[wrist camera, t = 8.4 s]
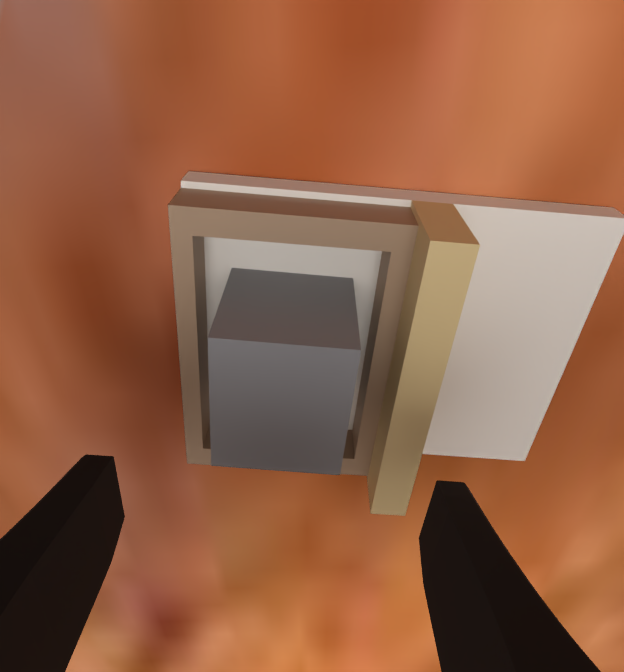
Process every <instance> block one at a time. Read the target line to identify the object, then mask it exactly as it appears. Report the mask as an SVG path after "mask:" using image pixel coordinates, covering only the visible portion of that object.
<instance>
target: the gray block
mask: <svg viewBox="0 0 624 672" xmlns="http://www.w3.org/2000/svg"><path fill="white" fill-rule="evenodd" d="M360 355H361V343H360V335H359V326H358V317H357V308H356V300H355V291H354V282H353V278H346V277H334V276H323V275H311V274H300V273H288V272H277V271H265V270H254V269H242V268H231V271H230V274H229V277H228V280H227V283H226V286H225V289H224V292H223V295H222V297H221V300H220V303H219V306H218V309H217V312H216V315H215V318H214V321H213V324H212V326H211V329H210V332H209V335H208V369H209V405H210V442H211V466H223V467H236V468H250V469H263V470H277V471H290V472H304V473H318V474H331V475H340V472H341V466H342V460H343V455H344V449H345V443H346V437H347V431H348V425H349V419H350V413H351V408H352V402H353V396H354V390H355V384H356V378H357V372H358V367H359V361H360Z"/></svg>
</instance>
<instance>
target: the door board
mask: <svg viewBox="0 0 624 672" xmlns="http://www.w3.org/2000/svg"><path fill="white" fill-rule="evenodd" d="M168 214H169V227H170V241H171V254H172V268H173V281H174V294H175V308H176V321H177V335H178V348H179V362H180V375H181V388H182V402H183V415H184V429H185V442H186V456H187V463H190V464H204V465H211V442H210V405H209V369H208V335H209V332H210V329H211V326H212V324H213V321H214V318H215V315H216V312H217V309H218V306H219V303H220V300H221V297H222V295H223V292H224V289H225V286H226V283H227V280H228V277H229V274H230V271H231V268H242V269H254V270H265V271H277V272H288V273H300V274H311V275H323V276H334V277H346V278H353V282H354V291H355V300H356V308H357V317H358V326H359V335H360V343H361V355H360V361H359V367H358V372H357V378H356V384H355V390H354V396H353V402H352V408H351V413H350V419H349V425H348V431H347V437H346V443H345V449H344V455H343V460H342V466H341V472H340V474H350V475H364V476H367V483H368V493H369V503H370V513H371V514H386V515H401V516H405V514H406V511H407V507H408V503H409V500H410V496H411V493H412V489H413V485H414V482H415V478H416V475H417V471H418V467H419V464H420V460H421V456H422V454H432V455H446V456H460V457H474V458H489V459H503V460H517V461H525V459H526V457H527V454H528V452H529V450H530V447H531V445H532V443H533V441H534V438H535V436H536V434H537V431H538V429H539V427H540V424H541V422H542V420H543V418H544V415H545V413H546V411H547V408H548V406H549V404H550V401H551V399H552V397H553V395H554V392H555V390H556V388H557V385H558V383H559V381H560V378H561V376H562V374H563V372H564V369H565V367H566V365H567V362H568V360H569V358H570V355H571V353H572V351H573V349H574V346H575V344H576V342H577V339H578V337H579V335H580V332H581V330H582V328H583V326H584V323H585V321H586V319H587V316H588V314H589V312H590V309H591V307H592V305H593V303H594V300H595V298H596V296H597V293H598V291H599V289H600V286H601V284H602V282H603V280H604V277H605V275H606V273H607V270H608V268H609V266H610V263H611V261H612V259H613V257H614V254H615V252H616V250H617V247H618V245H619V243H620V240H621V238H622V236H623V234H624V215H623V214H622V213H621V212H619V211H618V210H616V209H615V208H613V207H602V206H590V205H578V204H567V203H555V202H543V201H532V200H520V199H508V198H497V197H485V196H473V195H462V194H450V193H438V192H427V191H415V190H403V189H392V188H380V187H368V186H357V185H345V184H333V183H322V182H310V181H298V180H287V179H275V178H263V177H252V176H240V175H228V174H216V173H205V172H193V171H188V172H187V174H186V175H185V176H184V177H183V179H182V180H181V189H180V190H179V191H178V192H177V194H176V195H175V196H174V198H173V199H172V200H171V201H170V203H169V204H168Z"/></svg>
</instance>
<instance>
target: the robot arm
mask: <svg viewBox="0 0 624 672" xmlns="http://www.w3.org/2000/svg"><path fill="white" fill-rule="evenodd" d="M124 517H125V516H124V510H123V505H122V500H121V494H120V489H119V483H118V478H117V472H116V467H115V462H114V457H113V456H99V455H85V456H83V457H82V458H81V459H80V460H79V461H78V462H77V463H76V464H75V465H74V466H73V467H72V468H71V469H70V470H69V471H68V472H67V473H66V474H65V476H64V477H63V478H62V479H61V480H60V481H59V482H58V483H57V484H56V485H55V486H54V487H53V488H52V489H51V490H50V491H49V492H48V493H47V494H46V495H45V496H44V497H43V498H42V499H41V500H40V501H39V502H38V503H37V504H36V505H35V506H34V507H33V508H32V509H31V510H30V511H29V512H28V513H27V514H26V515H25V516H24V517H23V518H22V519H21V520H20V521H19V522H18V523H17V524H16V525H15V526H14V527H13V528H12V529H10V530H9V531H8V532H7V533H6V534H5V535H4V536H3V537H2V538H1V539H0V672H65V671H66V668H67V666H68V663H69V661H70V659H71V656H72V654H73V652H74V649H75V647H76V645H77V642H78V640H79V638H80V635H81V633H82V631H83V628H84V626H85V623H86V621H87V619H88V616H89V614H90V612H91V609H92V607H93V605H94V602H95V600H96V598H97V595H98V593H99V590H100V588H101V586H102V583H103V581H104V579H105V576H106V574H107V571H108V569H109V566H110V564H111V561H112V558H113V555H114V552H115V548H116V545H117V542H118V538H119V535H120V531H121V528H122V524H123V521H124ZM419 543H420V554H421V565H422V575H423V584H424V589H425V594H426V599H427V604H428V609H429V614H430V619H431V623H432V628H433V633H434V638H435V642H436V647H437V652H438V657H439V661H440V666H441V671H442V672H601V671H600V670H599V669H598V668H597V667H596V666H595V664H594V663H593V662H592V661H591V660H590V659H589V657H588V656H587V655H586V654H585V653H584V652H583V650H582V649H581V648H580V647H579V646H578V644H577V643H576V642H575V641H574V639H573V638H572V637H571V636H570V635H569V633H568V632H567V631H566V629H565V628H564V627H563V626H562V624H561V623H560V622H559V621H558V619H557V618H556V617H555V615H554V614H553V613H552V611H551V610H550V609H549V608H548V606H547V605H546V604H545V602H544V601H543V600H542V598H541V597H540V596H539V594H538V593H537V591H536V590H535V589H534V587H533V586H532V585H531V583H530V582H529V580H528V579H527V578H526V576H525V575H524V573H523V572H522V570H521V569H520V567H519V566H518V565H517V563H516V562H515V560H514V559H513V557H512V556H511V555H510V553H509V552H508V550H507V549H506V547H505V546H504V544H503V543H502V541H501V540H500V538H499V536H498V535H497V533H496V532H495V530H494V529H493V527H492V526H491V524H490V522H489V521H488V519H487V518H486V516H485V515H484V513H483V511H482V510H481V508H480V506H479V505H478V503H477V502H476V500H475V498H474V497H473V495H472V493H471V492H470V490H469V488H468V487H467V486H466V484H465V483H464V482H451V481H437V482H436V485H435V488H434V491H433V494H432V498H431V501H430V504H429V507H428V510H427V514H426V517H425V520H424V523H423V526H422V530H421V533H420V536H419Z"/></svg>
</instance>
